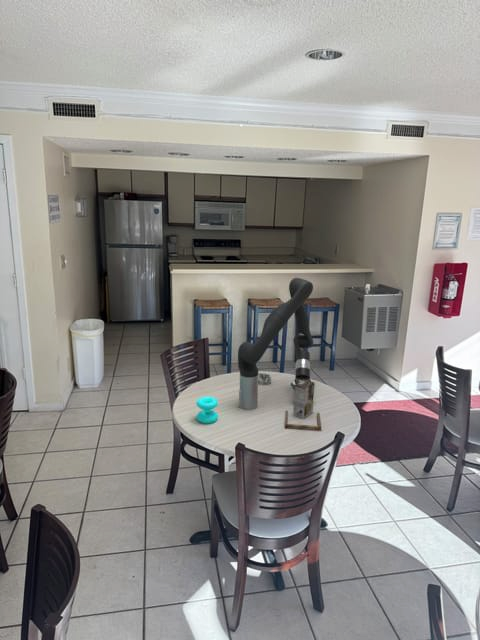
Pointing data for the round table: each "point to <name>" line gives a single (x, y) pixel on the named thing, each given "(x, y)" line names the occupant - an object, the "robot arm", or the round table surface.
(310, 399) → the coffee box
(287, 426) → the open wooden frame
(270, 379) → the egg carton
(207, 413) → the turquoise spool
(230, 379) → the round table surface
